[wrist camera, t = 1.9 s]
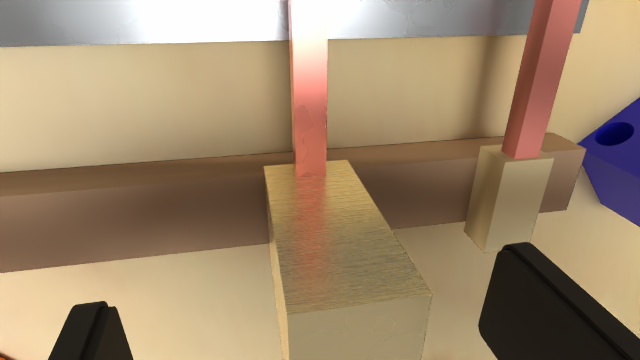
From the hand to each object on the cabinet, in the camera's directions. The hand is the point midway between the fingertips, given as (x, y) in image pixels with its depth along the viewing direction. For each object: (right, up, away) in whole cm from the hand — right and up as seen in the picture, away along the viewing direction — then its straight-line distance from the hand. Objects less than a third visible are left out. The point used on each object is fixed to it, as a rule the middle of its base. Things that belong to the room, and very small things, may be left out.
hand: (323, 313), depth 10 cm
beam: (-1, +6, +6) cm, 8 cm away
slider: (-1, +5, +4) cm, 6 cm away
